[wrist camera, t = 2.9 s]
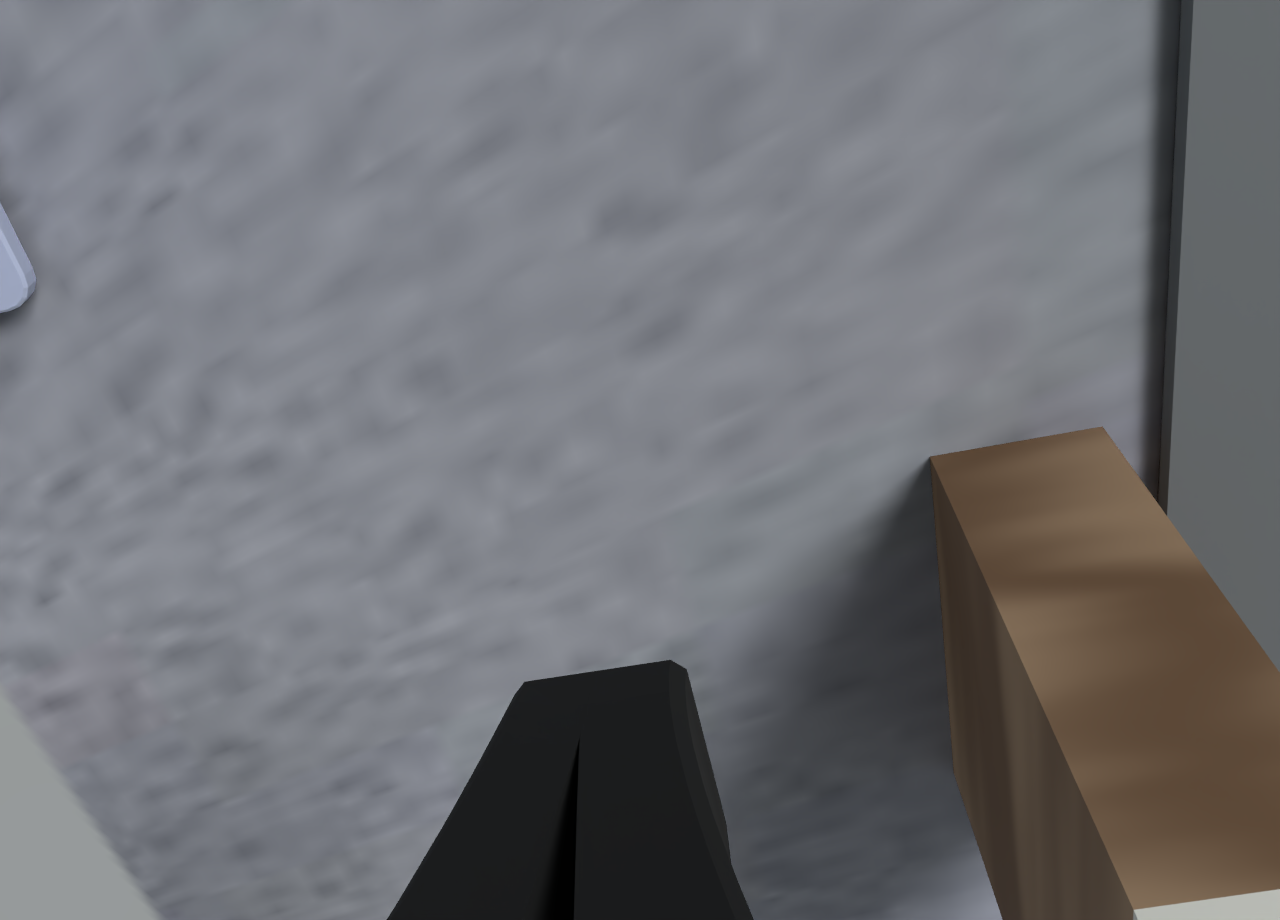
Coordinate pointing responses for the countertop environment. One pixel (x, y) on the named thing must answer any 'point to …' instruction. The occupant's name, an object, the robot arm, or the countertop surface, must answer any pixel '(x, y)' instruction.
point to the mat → (1226, 307)
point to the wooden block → (1101, 694)
